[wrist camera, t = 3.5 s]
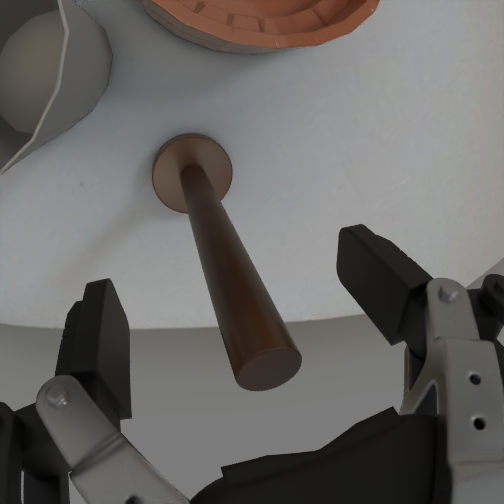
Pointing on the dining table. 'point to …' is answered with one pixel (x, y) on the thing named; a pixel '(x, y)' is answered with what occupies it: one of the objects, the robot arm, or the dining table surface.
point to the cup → (47, 72)
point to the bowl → (260, 22)
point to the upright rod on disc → (226, 262)
